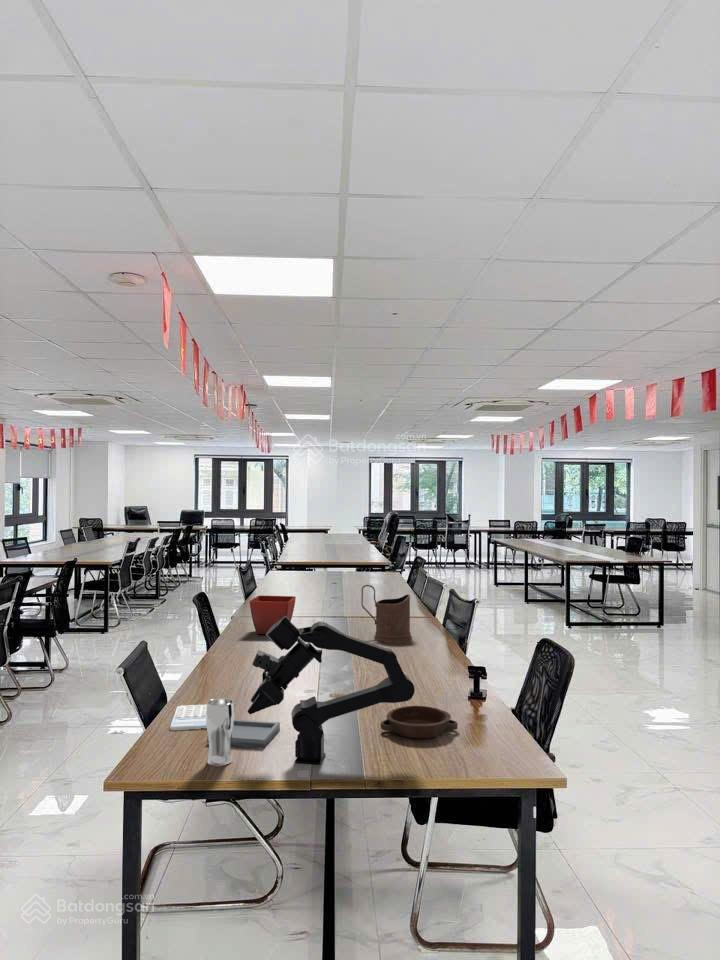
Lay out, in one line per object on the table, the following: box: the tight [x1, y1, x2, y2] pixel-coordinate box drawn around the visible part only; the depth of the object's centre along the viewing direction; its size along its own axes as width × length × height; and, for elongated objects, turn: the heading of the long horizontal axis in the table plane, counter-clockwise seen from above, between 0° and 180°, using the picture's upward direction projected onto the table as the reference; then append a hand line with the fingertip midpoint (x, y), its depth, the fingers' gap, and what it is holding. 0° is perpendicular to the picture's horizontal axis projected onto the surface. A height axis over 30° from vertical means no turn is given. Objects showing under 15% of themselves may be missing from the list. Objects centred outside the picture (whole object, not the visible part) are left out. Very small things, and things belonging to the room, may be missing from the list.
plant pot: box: [249, 595, 297, 636], centre depth 334 cm, size 19×19×17 cm
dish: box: [379, 705, 459, 739], centre depth 196 cm, size 18×22×5 cm
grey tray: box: [206, 719, 281, 749], centre depth 191 cm, size 16×14×2 cm
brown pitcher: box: [361, 584, 413, 643], centre depth 323 cm, size 18×24×25 cm
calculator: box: [169, 703, 207, 731], centre depth 207 cm, size 13×20×2 cm, turn 9°
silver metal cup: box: [206, 697, 235, 767], centre depth 174 cm, size 7×7×15 cm
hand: (250, 707), depth 174 cm, fingers open, 9 cm apart
